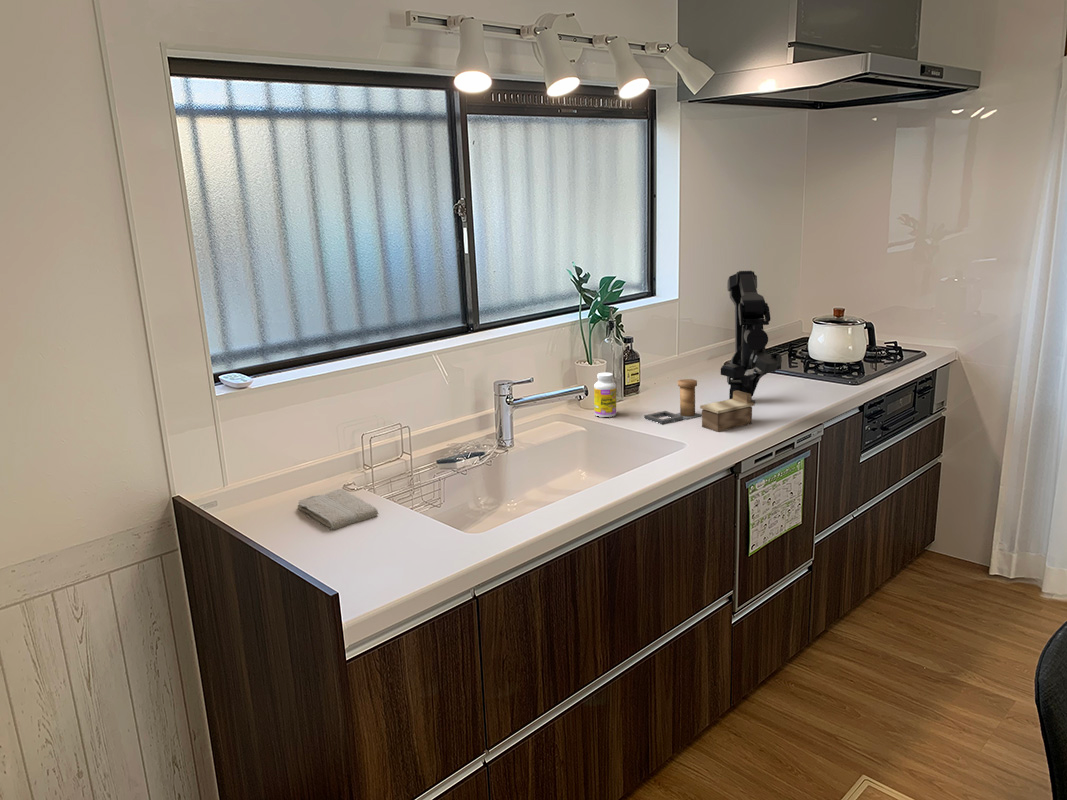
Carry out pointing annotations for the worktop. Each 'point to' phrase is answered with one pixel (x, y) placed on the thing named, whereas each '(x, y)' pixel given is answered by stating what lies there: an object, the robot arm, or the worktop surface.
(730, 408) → the lid
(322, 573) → the worktop surface
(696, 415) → the felt pad
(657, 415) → the keeper
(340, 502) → the washcloth
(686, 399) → the key peg
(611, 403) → the supplement bottle
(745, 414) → the toolbox
